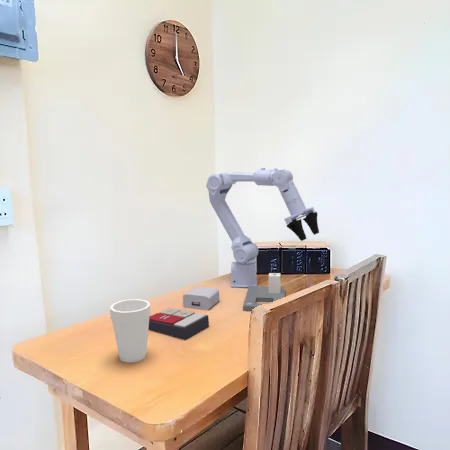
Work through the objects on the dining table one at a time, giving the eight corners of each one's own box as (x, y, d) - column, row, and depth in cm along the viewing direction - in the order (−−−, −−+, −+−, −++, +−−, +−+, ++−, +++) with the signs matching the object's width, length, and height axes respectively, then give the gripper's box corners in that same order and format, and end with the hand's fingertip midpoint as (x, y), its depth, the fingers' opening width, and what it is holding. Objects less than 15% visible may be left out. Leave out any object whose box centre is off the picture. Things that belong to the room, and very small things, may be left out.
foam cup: (155, 347, 106) (153, 298, 104) (149, 365, 97) (146, 312, 95) (118, 348, 106) (115, 299, 104) (108, 366, 97) (105, 312, 95)
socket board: (242, 310, 132) (242, 305, 131) (249, 289, 153) (249, 284, 153) (284, 312, 130) (284, 306, 130) (284, 290, 151) (284, 285, 151)
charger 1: (225, 296, 146) (209, 311, 133) (201, 294, 150) (183, 308, 136) (225, 283, 146) (208, 296, 132) (201, 281, 149) (182, 293, 135)
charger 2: (268, 292, 144) (268, 275, 143) (269, 289, 148) (269, 272, 147) (280, 293, 143) (280, 276, 143) (280, 289, 147) (280, 272, 146)
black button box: (169, 306, 128) (208, 312, 119) (170, 319, 128) (209, 327, 120) (143, 317, 118) (184, 325, 110) (144, 332, 119) (185, 341, 111)
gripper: (288, 201, 138) (306, 239, 136) (313, 192, 147) (330, 227, 146) (274, 209, 143) (291, 245, 142) (299, 200, 152) (315, 233, 151)
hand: (310, 236), depth 144 cm, fingers open, 7 cm apart
